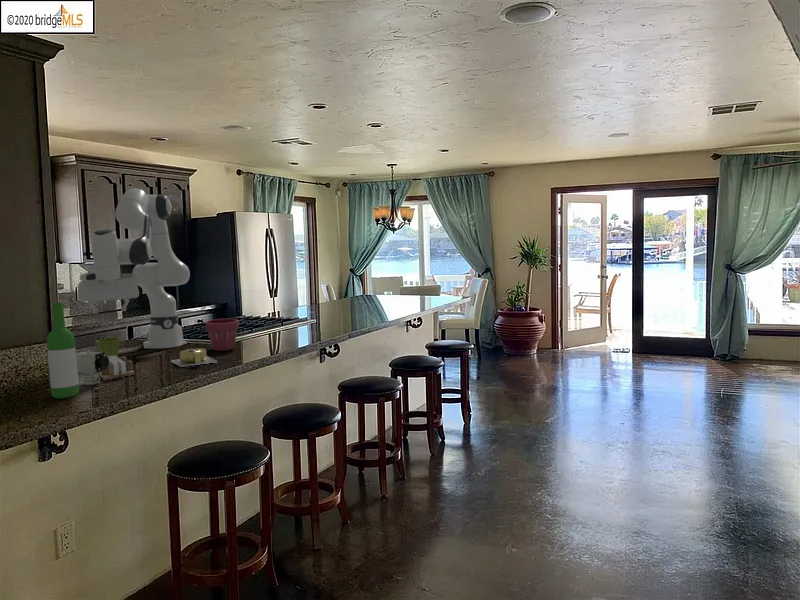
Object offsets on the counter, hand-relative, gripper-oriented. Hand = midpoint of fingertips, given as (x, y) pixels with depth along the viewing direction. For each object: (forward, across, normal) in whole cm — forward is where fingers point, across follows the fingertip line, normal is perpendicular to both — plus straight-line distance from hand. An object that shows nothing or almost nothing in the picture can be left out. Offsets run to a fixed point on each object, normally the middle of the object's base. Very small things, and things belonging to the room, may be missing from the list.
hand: (110, 312), depth 217 cm
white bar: (+22, 0, 0) cm, 22 cm away
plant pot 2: (+23, -49, -22) cm, 59 cm away
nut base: (+23, -29, 0) cm, 37 cm away
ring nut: (+22, -29, +2) cm, 36 cm away
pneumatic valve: (+23, +10, +12) cm, 28 cm away
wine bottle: (+23, +19, +24) cm, 38 cm away
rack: (+23, 0, 0) cm, 23 cm away
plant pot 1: (+23, -4, -31) cm, 39 cm away
